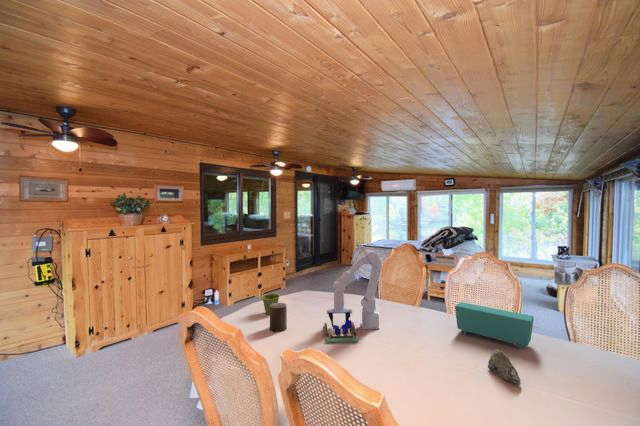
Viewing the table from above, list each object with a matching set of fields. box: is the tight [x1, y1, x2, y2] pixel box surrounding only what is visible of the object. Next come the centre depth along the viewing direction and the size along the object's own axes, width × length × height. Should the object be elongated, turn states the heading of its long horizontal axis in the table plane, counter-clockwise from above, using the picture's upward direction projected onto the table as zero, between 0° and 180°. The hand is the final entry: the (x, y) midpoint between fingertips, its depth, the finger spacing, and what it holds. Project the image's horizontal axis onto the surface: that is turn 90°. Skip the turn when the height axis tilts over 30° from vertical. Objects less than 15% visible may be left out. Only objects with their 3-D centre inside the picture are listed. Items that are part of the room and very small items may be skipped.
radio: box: [454, 301, 535, 350], centre depth 152 cm, size 34×10×15 cm, turn 47°
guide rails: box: [324, 321, 358, 338], centre depth 164 cm, size 17×15×2 cm
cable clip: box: [332, 319, 352, 335], centre depth 161 cm, size 12×4×6 cm, turn 135°
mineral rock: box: [487, 348, 521, 386], centre depth 118 cm, size 13×11×10 cm
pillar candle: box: [269, 302, 288, 333], centre depth 169 cm, size 10×10×15 cm
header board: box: [325, 328, 359, 344], centre depth 152 cm, size 16×6×5 cm, turn 91°
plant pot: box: [261, 293, 281, 316], centre depth 193 cm, size 12×12×11 cm
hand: (339, 325), depth 168 cm, fingers open, 7 cm apart
